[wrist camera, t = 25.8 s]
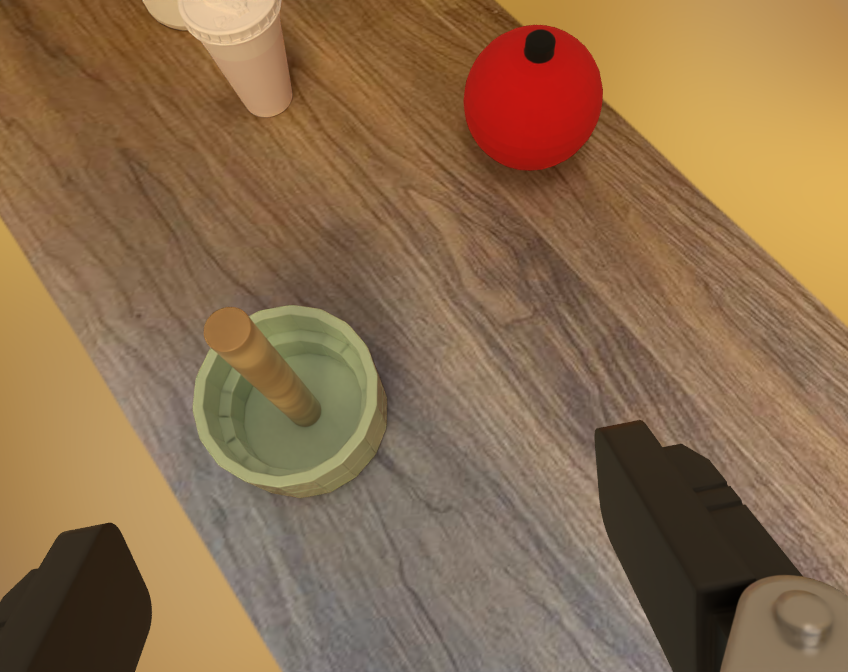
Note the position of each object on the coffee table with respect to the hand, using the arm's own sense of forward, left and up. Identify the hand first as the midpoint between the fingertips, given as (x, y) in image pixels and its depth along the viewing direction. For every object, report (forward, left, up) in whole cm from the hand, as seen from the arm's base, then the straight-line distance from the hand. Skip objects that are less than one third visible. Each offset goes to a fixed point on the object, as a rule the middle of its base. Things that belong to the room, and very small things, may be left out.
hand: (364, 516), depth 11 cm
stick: (+10, +6, -29) cm, 32 cm away
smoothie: (+35, +6, -30) cm, 47 cm away
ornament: (+27, -12, -30) cm, 42 cm away
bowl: (+10, +6, -30) cm, 32 cm away
